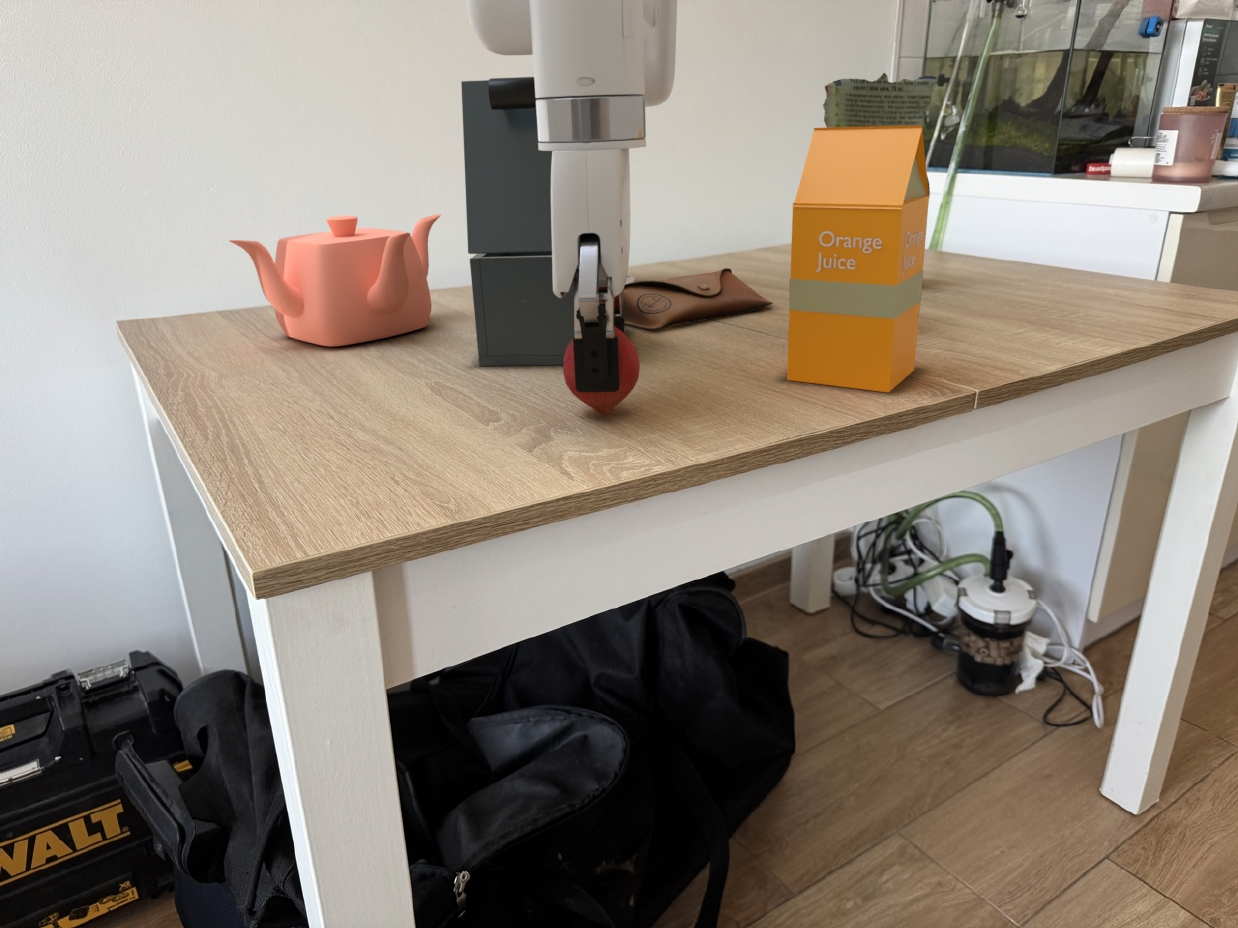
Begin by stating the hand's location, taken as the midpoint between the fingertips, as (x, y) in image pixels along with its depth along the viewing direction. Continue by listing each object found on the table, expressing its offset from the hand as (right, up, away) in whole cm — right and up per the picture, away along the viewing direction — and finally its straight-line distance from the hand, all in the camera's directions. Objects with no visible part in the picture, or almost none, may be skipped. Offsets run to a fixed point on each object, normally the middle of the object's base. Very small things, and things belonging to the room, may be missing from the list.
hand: (601, 376), depth 69 cm
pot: (-27, +7, +30) cm, 41 cm away
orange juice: (+21, +1, +9) cm, 23 cm away
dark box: (-5, +5, +22) cm, 23 cm away
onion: (0, -3, +1) cm, 3 cm away
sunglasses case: (+10, +10, +34) cm, 37 cm away
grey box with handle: (-6, +19, +11) cm, 23 cm away
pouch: (+33, +16, +46) cm, 59 cm away
